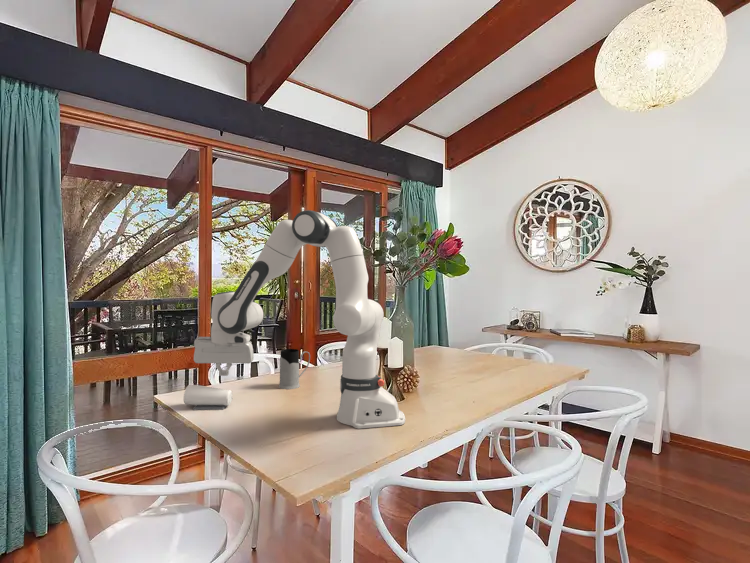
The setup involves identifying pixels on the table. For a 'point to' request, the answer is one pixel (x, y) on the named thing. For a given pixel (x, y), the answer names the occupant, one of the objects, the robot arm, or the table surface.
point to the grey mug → (290, 368)
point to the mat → (209, 407)
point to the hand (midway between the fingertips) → (223, 375)
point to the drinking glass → (206, 396)
